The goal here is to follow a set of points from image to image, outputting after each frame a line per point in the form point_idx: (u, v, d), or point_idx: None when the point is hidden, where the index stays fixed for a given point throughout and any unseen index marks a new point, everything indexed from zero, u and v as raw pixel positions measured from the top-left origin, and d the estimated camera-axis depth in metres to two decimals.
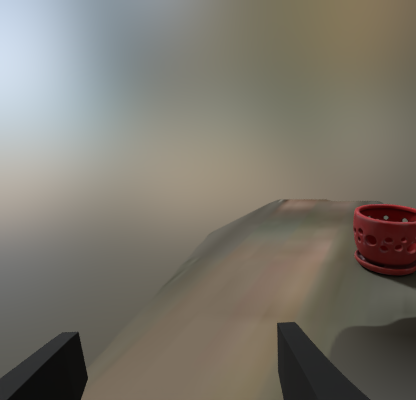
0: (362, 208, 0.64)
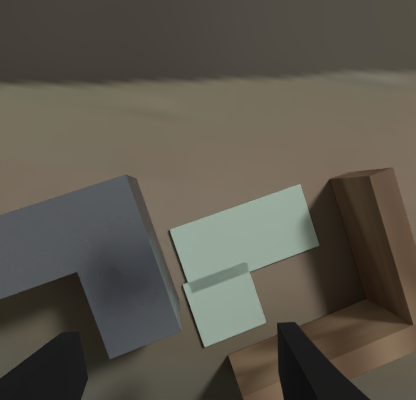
0: None
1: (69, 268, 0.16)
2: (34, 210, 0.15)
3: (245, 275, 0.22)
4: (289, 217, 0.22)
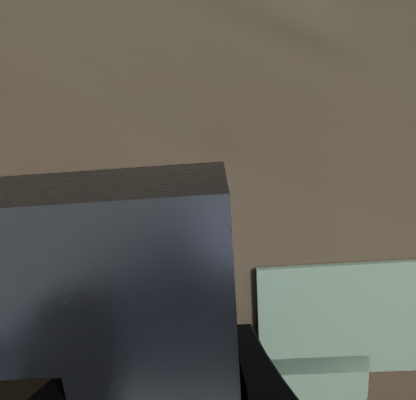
0: None
1: (46, 366, 0.07)
2: None
3: (360, 375, 0.12)
4: None
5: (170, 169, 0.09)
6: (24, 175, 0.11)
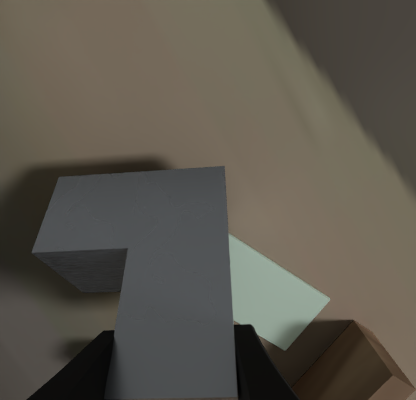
0: None
1: (122, 241, 0.12)
2: (120, 177, 0.14)
3: None
4: (291, 310, 0.20)
5: None
6: None
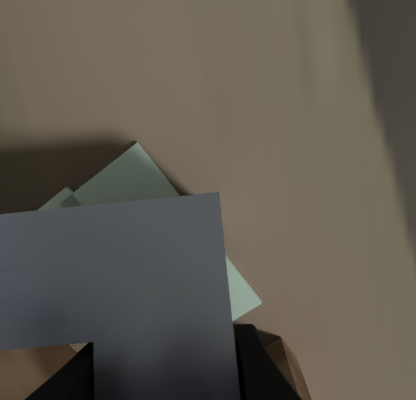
0: None
1: (83, 330, 0.09)
2: (63, 217, 0.09)
3: None
4: None
5: None
6: None
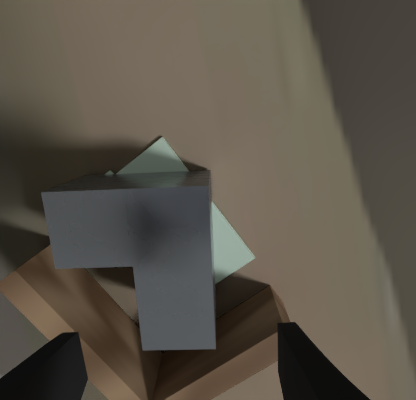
0: None
1: (126, 260, 0.15)
2: (105, 196, 0.14)
3: None
4: (217, 257, 0.20)
5: (181, 174, 0.18)
6: None
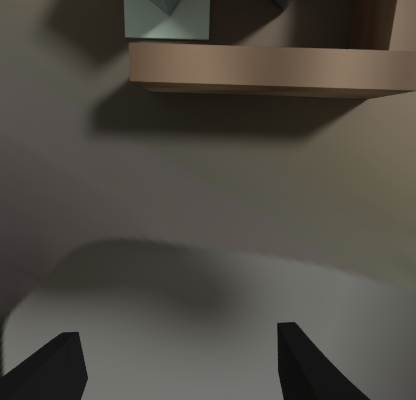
0: None
1: None
2: None
3: None
4: None
5: None
6: None
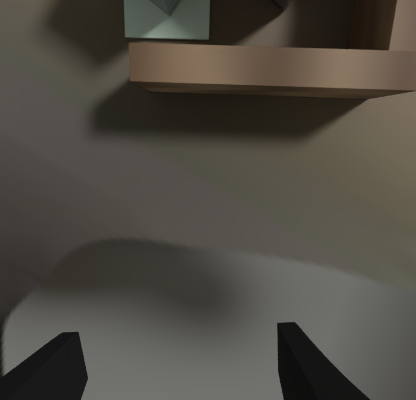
0: None
1: None
2: None
3: None
4: None
5: None
6: None
